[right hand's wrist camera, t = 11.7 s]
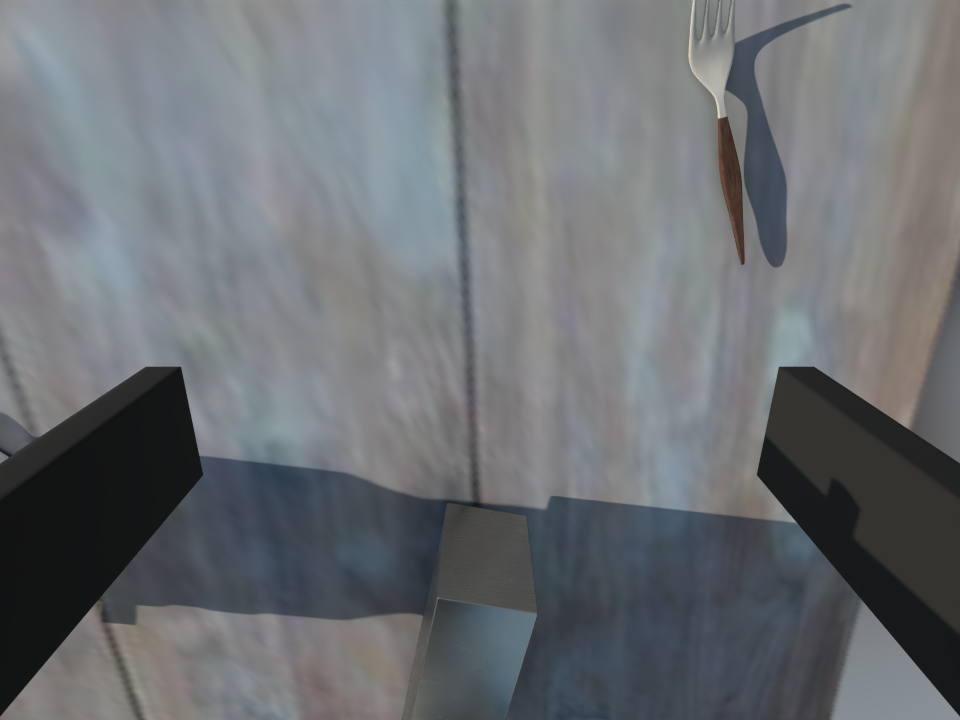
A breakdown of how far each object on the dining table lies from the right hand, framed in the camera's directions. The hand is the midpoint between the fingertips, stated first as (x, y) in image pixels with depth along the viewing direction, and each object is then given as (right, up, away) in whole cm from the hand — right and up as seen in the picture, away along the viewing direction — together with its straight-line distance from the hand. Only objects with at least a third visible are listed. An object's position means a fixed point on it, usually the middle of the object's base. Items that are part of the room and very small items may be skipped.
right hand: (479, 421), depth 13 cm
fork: (+15, +15, +22) cm, 30 cm away
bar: (-2, -21, +33) cm, 39 cm away
